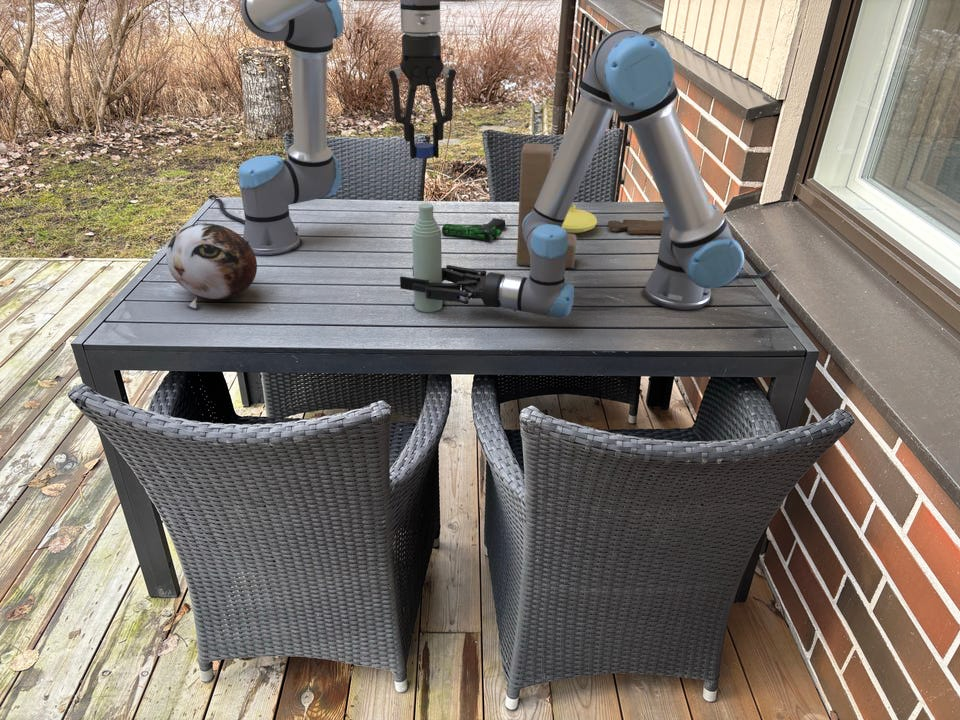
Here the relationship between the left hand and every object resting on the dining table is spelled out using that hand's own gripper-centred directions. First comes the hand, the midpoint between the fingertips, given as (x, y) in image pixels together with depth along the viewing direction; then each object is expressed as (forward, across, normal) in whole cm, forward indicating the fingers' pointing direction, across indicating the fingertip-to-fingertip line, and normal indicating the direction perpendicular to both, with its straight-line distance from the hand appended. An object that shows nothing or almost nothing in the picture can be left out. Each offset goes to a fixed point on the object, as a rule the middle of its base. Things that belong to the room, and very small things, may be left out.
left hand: (424, 156), depth 149 cm
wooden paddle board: (+35, +72, +39) cm, 89 cm away
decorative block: (+35, +34, +20) cm, 53 cm away
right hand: (+28, -4, +2) cm, 28 cm away
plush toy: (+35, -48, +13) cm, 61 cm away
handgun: (+35, +20, +45) cm, 60 cm away
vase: (+35, +48, +43) cm, 73 cm away
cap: (-2, 0, 0) cm, 2 cm away
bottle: (+35, 0, 0) cm, 35 cm away
